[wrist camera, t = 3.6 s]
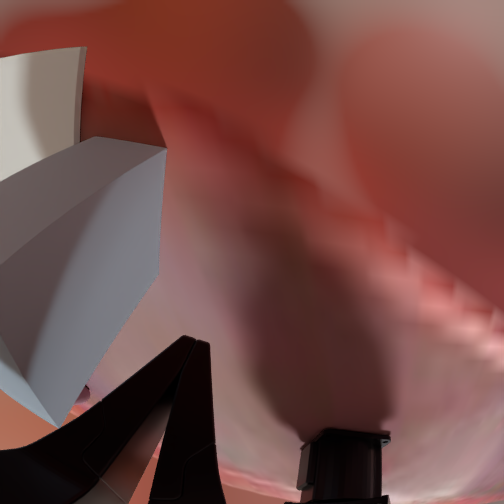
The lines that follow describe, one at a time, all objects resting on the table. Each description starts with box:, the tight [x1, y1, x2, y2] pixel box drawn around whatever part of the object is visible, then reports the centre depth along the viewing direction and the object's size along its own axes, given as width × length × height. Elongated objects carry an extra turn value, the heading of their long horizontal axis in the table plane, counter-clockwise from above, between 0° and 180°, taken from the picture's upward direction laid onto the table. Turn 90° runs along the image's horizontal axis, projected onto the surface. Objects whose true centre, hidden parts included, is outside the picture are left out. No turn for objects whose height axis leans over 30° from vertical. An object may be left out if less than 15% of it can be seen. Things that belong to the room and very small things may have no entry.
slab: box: [0, 136, 167, 428], centre depth 11 cm, size 4×7×10 cm, turn 168°
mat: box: [0, 47, 87, 181], centre depth 15 cm, size 14×16×1 cm
